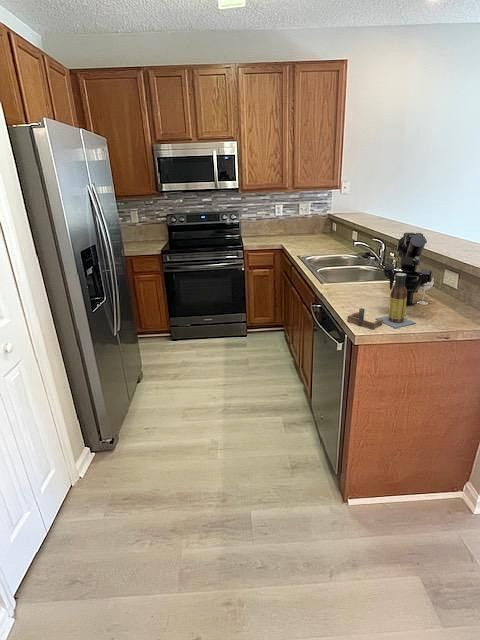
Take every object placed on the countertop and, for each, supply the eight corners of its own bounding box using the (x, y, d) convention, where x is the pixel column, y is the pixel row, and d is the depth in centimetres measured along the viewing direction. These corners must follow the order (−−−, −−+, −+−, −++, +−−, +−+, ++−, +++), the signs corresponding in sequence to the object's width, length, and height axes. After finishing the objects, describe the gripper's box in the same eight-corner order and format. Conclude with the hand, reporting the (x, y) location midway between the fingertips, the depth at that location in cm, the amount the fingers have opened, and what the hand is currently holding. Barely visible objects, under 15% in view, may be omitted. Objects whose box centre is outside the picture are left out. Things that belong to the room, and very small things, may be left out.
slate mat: (395, 315, 160) (395, 314, 159) (415, 323, 150) (415, 322, 150) (375, 319, 156) (375, 318, 156) (394, 328, 146) (395, 327, 146)
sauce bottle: (397, 316, 156) (403, 271, 149) (407, 322, 151) (414, 274, 144) (384, 318, 155) (389, 272, 148) (393, 324, 149) (400, 276, 142)
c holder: (356, 317, 159) (358, 302, 156) (382, 324, 150) (384, 308, 148) (346, 322, 154) (347, 306, 152) (372, 330, 146) (374, 313, 143)
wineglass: (432, 305, 169) (436, 280, 165) (416, 304, 171) (419, 279, 166) (428, 300, 175) (432, 276, 171) (413, 300, 177) (416, 276, 172)
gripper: (387, 246, 156) (376, 278, 152) (435, 250, 145) (425, 284, 141) (390, 261, 164) (380, 291, 160) (436, 265, 154) (426, 298, 150)
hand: (401, 290), depth 153 cm, fingers open, 9 cm apart
